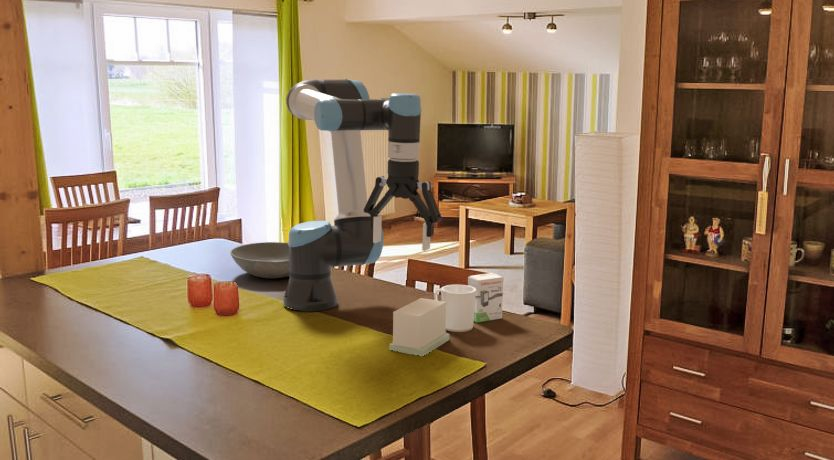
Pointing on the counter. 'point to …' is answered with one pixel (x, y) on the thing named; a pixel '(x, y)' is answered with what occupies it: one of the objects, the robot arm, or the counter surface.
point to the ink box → (487, 296)
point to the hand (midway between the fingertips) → (401, 245)
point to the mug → (458, 306)
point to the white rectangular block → (419, 323)
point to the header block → (425, 349)
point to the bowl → (263, 259)
